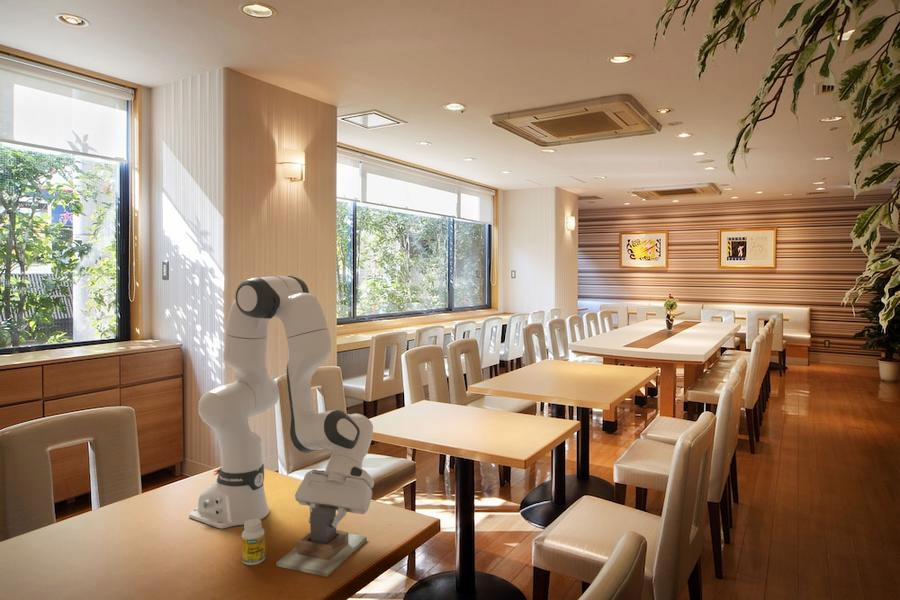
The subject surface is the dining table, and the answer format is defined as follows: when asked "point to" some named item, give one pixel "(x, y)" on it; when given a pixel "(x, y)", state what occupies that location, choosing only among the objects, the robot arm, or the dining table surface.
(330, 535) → the plug block
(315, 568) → the socket holder
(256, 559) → the supplement bottle
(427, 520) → the dining table surface
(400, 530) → the dining table surface
